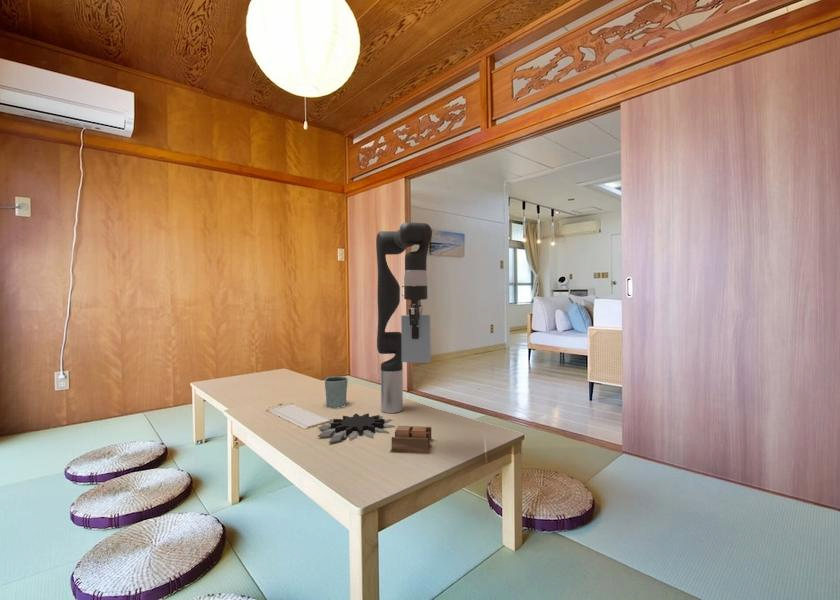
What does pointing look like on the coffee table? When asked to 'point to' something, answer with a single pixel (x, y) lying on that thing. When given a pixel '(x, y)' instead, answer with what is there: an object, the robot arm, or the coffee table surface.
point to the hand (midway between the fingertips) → (416, 338)
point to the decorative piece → (354, 427)
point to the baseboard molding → (299, 416)
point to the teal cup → (336, 391)
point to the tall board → (416, 340)
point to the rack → (412, 443)
